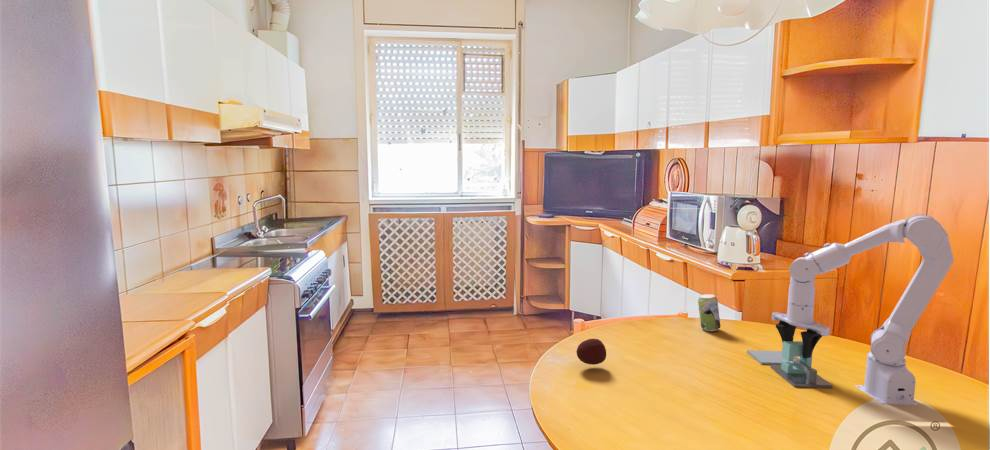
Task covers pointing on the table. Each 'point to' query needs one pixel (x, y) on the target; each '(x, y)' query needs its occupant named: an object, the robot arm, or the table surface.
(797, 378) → the stand
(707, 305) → the beverage can
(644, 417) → the table surface
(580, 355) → the dark brown ball
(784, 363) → the c link
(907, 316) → the robot arm
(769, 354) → the mat
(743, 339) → the table surface
